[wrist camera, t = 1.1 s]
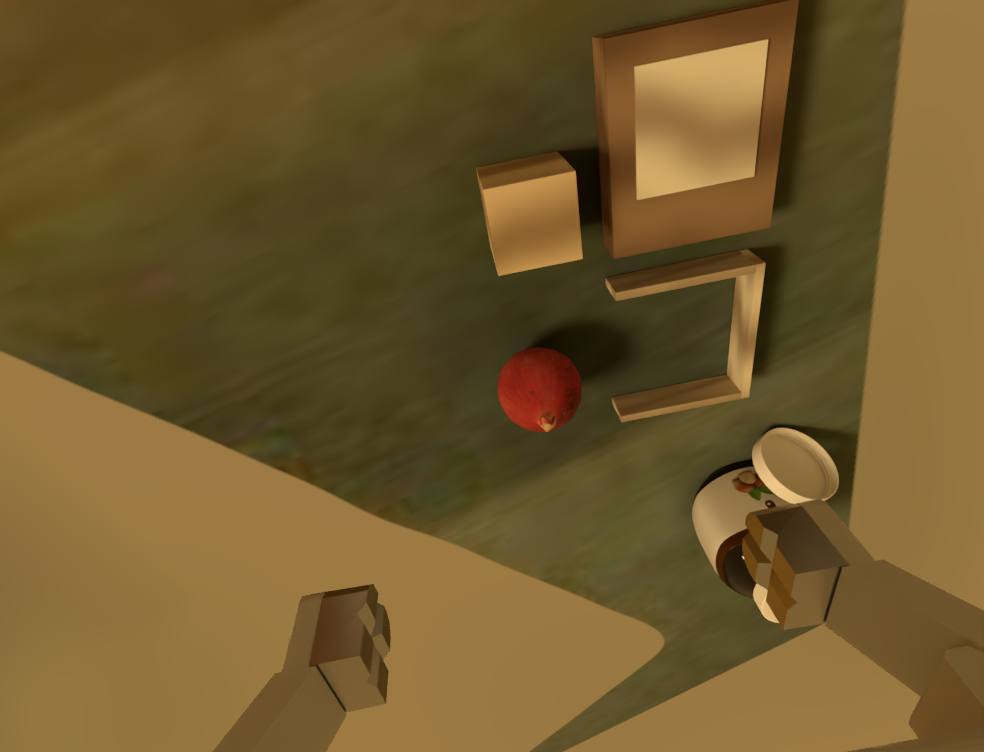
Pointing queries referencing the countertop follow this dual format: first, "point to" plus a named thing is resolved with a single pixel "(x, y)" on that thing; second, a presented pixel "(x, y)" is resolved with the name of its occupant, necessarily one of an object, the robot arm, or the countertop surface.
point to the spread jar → (758, 500)
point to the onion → (539, 389)
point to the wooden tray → (693, 165)
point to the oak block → (531, 212)
